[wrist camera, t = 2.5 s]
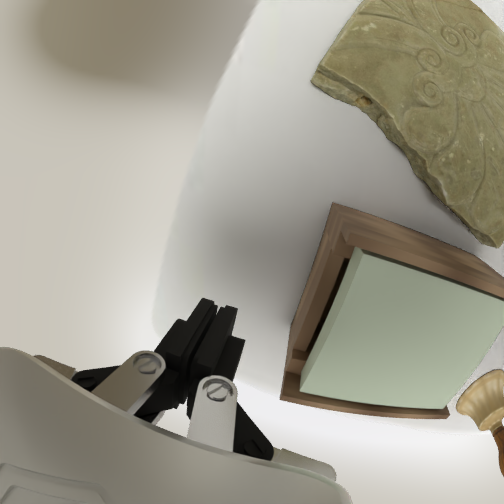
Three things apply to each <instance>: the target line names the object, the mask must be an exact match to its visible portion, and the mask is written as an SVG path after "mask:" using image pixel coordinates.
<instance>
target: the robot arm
mask: <svg viewBox="0 0 504 504" xmlns="http://www.w3.org/2000/svg"><path fill="white" fill-rule="evenodd" d="M217 308H218V306H217V305H214V301H212V300H208V299H205V298H202V299H201V301H200V302H199V304H198V305H197V306H196V308H195V309H194V311H193V312H192V314H191V315H190V317H189V318H188V320H187V321H184V320H181V319H177V320H176V322H175V323H174V324H173V326H172V327H171V328H170V330H169V331H168V332H167V334H166V335H165V337H164V338H163V339H162V341H161V342H160V343H159V345H158V346H157V348H156V349H155V350H154V352H153V351H139V352H137V353H135V354H133V355H132V356H131V357H130V358H129V359H127V360H126V361H125V362H124V363H123V364H122V365H120V366H113V367H106V368H98V369H90V370H83V371H79V372H77V371H76V369H75V368H72V367H70V366H67V365H64V364H61V363H59V362H57V361H54V360H52V359H49V358H47V357H45V356H41V355H35V356H31V355H30V354H27V353H25V352H23V351H20V350H17V349H13V348H9V347H0V504H352V500H351V497H350V495H349V494H348V492H347V491H346V489H345V488H343V487H342V486H341V485H339V484H338V483H336V482H335V481H336V472H335V470H334V469H333V467H332V466H330V465H328V464H326V463H324V462H320V461H317V460H314V459H311V458H308V457H305V456H302V455H299V454H296V453H294V452H291V451H288V450H286V449H281V450H280V449H277V448H275V447H273V446H272V444H271V443H270V442H269V440H268V439H267V438H266V437H265V436H264V435H263V433H262V432H261V431H260V430H259V428H258V427H257V426H256V425H255V424H254V422H253V421H252V420H251V419H250V417H249V416H248V415H247V414H246V412H245V411H244V410H243V409H242V407H241V406H240V405H239V403H238V402H237V394H238V393H237V388H236V386H235V384H234V383H233V379H234V376H235V373H236V370H237V367H238V364H239V360H240V357H241V354H242V350H243V347H244V343H245V340H244V339H240V338H237V337H234V336H231V335H232V331H233V327H234V323H235V319H236V315H237V310H238V308H234V307H231V306H228V305H226V306H225V308H224V307H220V309H219V311H218V313H217ZM216 313H217V315H216ZM187 397H188V398H187ZM186 399H187V416H188V417H189V419H190V426H189V430H188V434H187V438H186V437H183V436H181V435H178V434H175V433H173V432H170V431H167V430H165V429H163V428H160V427H158V426H155V425H156V424H157V422H158V421H159V420H160V419H161V418H162V416H163V415H164V413H165V410H168V409H172V408H175V409H177V407H178V406H179V404H184V403H185V401H186Z"/></svg>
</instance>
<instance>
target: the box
mask: <svg viewBox="0 0 504 504" xmlns="http://www.w3.org/2000/svg"><path fill="white" fill-rule="evenodd" d="M355 247H358V248H361V249H364V250H368V251H371V252H374V253H377V254H380V255H383V256H386V257H390V258H393V259H396V260H399V261H402V262H405V263H408V264H411V265H414V266H417V267H420V268H423V269H426V270H429V271H431V272H434V273H437V274H440V275H443V276H446V277H449V278H451V279H454V280H457V281H460V282H463V283H465V284H468V285H471V286H473V287H476V288H479V289H482V290H484V291H487V292H489V293H492V294H495V295H497V296H500V297H502V298H504V277H502V276H501V275H500V274H499V273H497V272H496V271H495V270H494V269H492V268H491V267H490V266H489V265H487V264H486V263H485V262H483V261H482V260H481V259H479V258H478V257H477V256H475V255H473V254H471V253H468V252H466V251H464V250H461V249H459V248H457V247H454V246H452V245H450V244H447V243H445V242H442V241H440V240H438V239H435V238H433V237H430V236H428V235H425V234H422V233H420V232H417V231H415V230H412V229H409V228H407V227H404V226H401V225H399V224H396V223H393V222H390V221H387V220H385V219H382V218H379V217H376V216H373V215H370V214H367V213H364V212H361V211H358V210H355V209H352V208H349V207H346V206H343V205H339V204H336V203H332V206H331V209H330V213H329V216H328V219H327V223H326V226H325V229H324V232H323V235H322V239H321V242H320V245H319V248H318V251H317V254H316V257H315V260H314V263H313V266H312V269H311V272H310V275H309V278H308V280H307V283H306V286H305V289H304V292H303V295H302V297H301V300H300V303H299V306H298V308H297V311H296V314H295V316H294V319H293V322H292V324H291V327H290V334H289V341H288V349H287V356H286V363H285V369H284V376H283V382H282V388H281V394H280V400H283V401H287V402H292V403H296V404H301V405H306V406H311V407H316V408H321V409H327V410H333V411H340V412H346V413H354V414H362V415H370V416H381V417H393V418H411V419H447V418H448V417H449V415H450V414H449V411H448V408H447V405H446V406H445V407H444V408H443V409H427V408H409V407H396V406H386V405H377V404H369V403H361V402H354V401H348V400H341V399H336V398H330V397H325V396H319V395H314V394H310V393H305V392H300V380H301V371H302V369H303V367H304V365H305V363H306V361H307V359H308V357H309V355H310V353H311V351H312V349H313V347H314V345H315V343H316V341H317V338H318V336H319V334H320V332H321V330H322V327H323V325H324V323H325V321H326V318H327V316H328V314H329V312H330V309H331V307H332V305H333V302H334V300H335V297H336V295H337V293H338V290H339V288H340V285H341V283H342V280H343V278H344V275H345V272H346V270H347V267H348V264H349V262H350V259H351V256H352V254H353V251H354V248H355Z"/></svg>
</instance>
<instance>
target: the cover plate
mask: <svg viewBox="0 0 504 504" xmlns="http://www.w3.org/2000/svg"><path fill="white" fill-rule="evenodd" d="M503 326H504V298H502V297H500V296H497V295H495V294H492V293H489V292H487V291H484V290H482V289H479V288H476V287H473V286H471V285H468V284H465V283H463V282H460V281H457V280H454V279H451V278H449V277H446V276H443V275H440V274H437V273H434V272H431V271H429V270H426V269H423V268H420V267H417V266H414V265H411V264H408V263H405V262H402V261H399V260H396V259H393V258H390V257H386V256H383V255H380V254H377V253H374V252H371V251H368V250H364V249H361V248H358V247H355V248H354V251H353V254H352V256H351V259H350V262H349V264H348V267H347V270H346V272H345V275H344V278H343V280H342V283H341V285H340V288H339V290H338V293H337V295H336V297H335V300H334V302H333V305H332V307H331V309H330V312H329V314H328V316H327V318H326V321H325V323H324V325H323V327H322V330H321V332H320V334H319V336H318V338H317V341H316V343H315V345H314V347H313V349H312V351H311V353H310V355H309V357H308V359H307V361H306V363H305V365H304V367H303V369H302V371H301V380H300V392H305V393H310V394H314V395H319V396H325V397H330V398H336V399H341V400H348V401H354V402H361V403H369V404H377V405H386V406H396V407H409V408H427V409H443V408H444V407H445V406H446V405H447V404H448V403H449V401H450V400H451V399H452V398H453V397H454V396H455V395H456V393H457V392H458V391H459V390H460V389H461V387H462V386H463V385H464V384H465V382H466V381H467V380H468V378H469V377H470V376H471V375H472V373H473V372H474V370H475V369H476V368H477V366H478V365H479V364H480V362H481V361H482V359H483V358H484V356H485V355H486V353H487V352H488V350H489V349H490V347H491V346H492V344H493V343H494V341H495V339H496V338H497V336H498V335H499V333H500V331H501V329H502V328H503Z"/></svg>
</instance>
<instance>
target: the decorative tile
mask: <svg viewBox="0 0 504 504" xmlns="http://www.w3.org/2000/svg"><path fill="white" fill-rule="evenodd" d="M311 82H312V83H313V84H314V85H315V86H317V87H318V88H320V89H322V90H323V91H324V92H325V93H327V94H328V95H330V96H331V97H333V98H335V99H338V100H341V101H342V102H345V103H347V104H350V105H352V106H356V107H358V108H359V109H360V110H362V112H364V113H366V114H367V115H368V116H369V117H370V118H371V119H372V120H373V121H374V122H375V123H376V124H377V125H378V127H380V128H381V129H382V130H383V132H384V134H385V136H386V138H387V139H388V140H390V141H392V142H393V143H395V144H396V145H397V146H398V147H399V148H400V149H401V150H403V152H404V153H405V155H406V156H407V158H408V160H409V162H410V164H411V167H412V169H413V172H414V173H415V175H416V176H417V177H418V178H420V179H421V180H423V181H424V182H426V183H427V185H428V186H429V187H430V188H431V191H432V193H434V194H435V195H436V196H437V197H438V198H439V199H440V200H441V201H442V202H443V204H444V205H446V206H447V207H449V208H450V209H451V210H452V211H453V212H454V213H455V214H456V215H457V216H458V217H459V218H460V219H461V220H462V222H463V223H464V224H465V225H467V226H468V228H469V229H470V231H471V233H472V234H473V235H474V236H475V238H476V239H477V240H478V241H480V242H481V243H482V244H485V245H488V246H491V247H495V248H499V247H500V246H501V244H502V243H503V241H504V32H503V31H502V30H501V29H500V28H499V27H498V26H497V25H496V24H495V23H494V22H493V21H492V20H491V19H490V18H489V17H488V16H487V15H486V14H485V13H484V12H483V11H482V10H481V9H480V8H479V7H478V6H477V5H476V4H474V3H473V2H472V1H471V0H363V2H362V3H361V4H360V5H359V6H358V7H357V9H356V10H355V12H354V13H353V15H352V16H351V18H350V19H349V20H348V21H347V23H346V24H345V26H344V27H343V28H342V30H341V31H340V33H339V34H338V36H337V38H336V39H335V41H334V43H333V44H332V46H331V47H330V48H329V50H328V51H327V53H326V55H325V56H324V57H323V59H322V60H321V62H320V63H319V65H318V67H317V70H316V72H315V74H314V76H313V77H312V79H311Z"/></svg>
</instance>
